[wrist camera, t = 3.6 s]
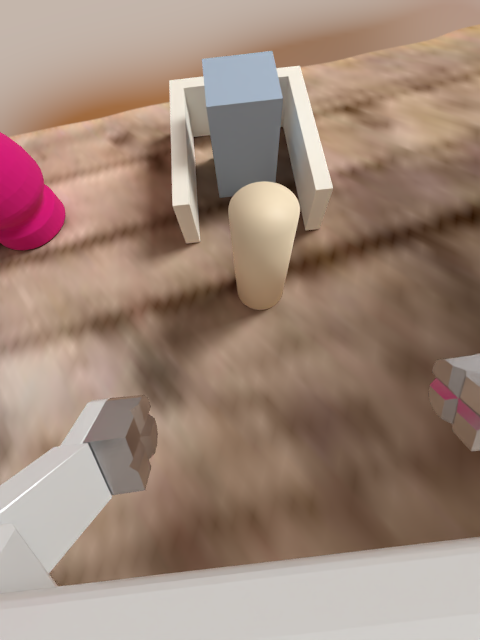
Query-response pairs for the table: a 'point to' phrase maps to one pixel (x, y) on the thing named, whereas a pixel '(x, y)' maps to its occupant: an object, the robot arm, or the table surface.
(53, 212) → the pepper mill
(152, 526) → the table surface
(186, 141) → the white u-shaped wall
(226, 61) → the block
